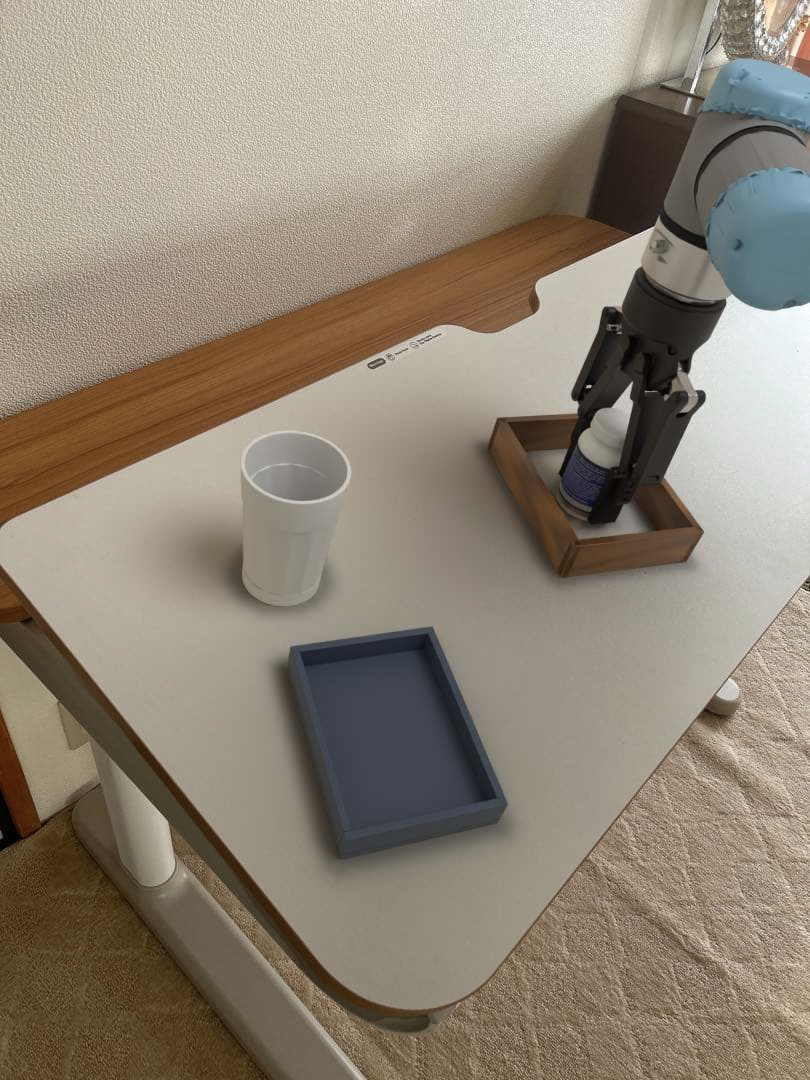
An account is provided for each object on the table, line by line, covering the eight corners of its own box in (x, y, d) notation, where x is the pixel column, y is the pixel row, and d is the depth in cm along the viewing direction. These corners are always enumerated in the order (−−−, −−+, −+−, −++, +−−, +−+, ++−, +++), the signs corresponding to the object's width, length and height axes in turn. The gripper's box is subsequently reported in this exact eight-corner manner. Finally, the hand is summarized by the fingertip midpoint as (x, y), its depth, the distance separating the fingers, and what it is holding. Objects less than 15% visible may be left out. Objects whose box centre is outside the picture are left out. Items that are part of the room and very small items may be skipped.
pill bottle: (605, 532, 83) (645, 451, 77) (548, 510, 84) (583, 427, 77) (616, 497, 88) (655, 417, 81) (562, 476, 88) (595, 395, 81)
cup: (265, 527, 75) (278, 416, 67) (347, 568, 74) (370, 459, 66) (211, 585, 70) (217, 471, 62) (298, 630, 68) (316, 520, 60)
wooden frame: (686, 561, 83) (704, 531, 80) (560, 578, 78) (574, 546, 75) (602, 440, 94) (615, 410, 91) (486, 448, 89) (497, 417, 86)
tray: (498, 822, 60) (508, 804, 58) (340, 859, 56) (346, 840, 54) (425, 646, 70) (432, 625, 68) (286, 667, 66) (290, 646, 64)
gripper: (589, 222, 74) (513, 437, 90) (707, 351, 62) (596, 573, 78) (664, 224, 76) (577, 433, 92) (791, 349, 65) (666, 564, 81)
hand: (586, 497), depth 85 cm, fingers closed on pill bottle, 6 cm apart
